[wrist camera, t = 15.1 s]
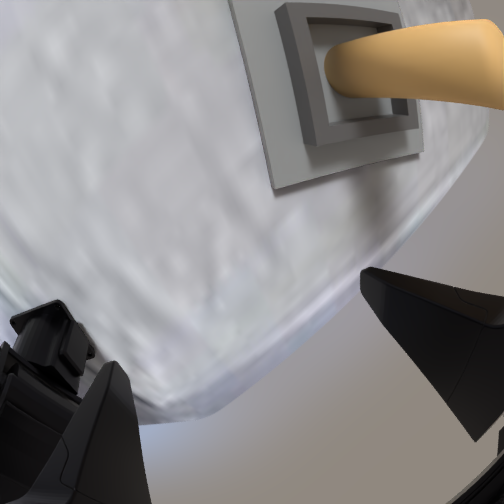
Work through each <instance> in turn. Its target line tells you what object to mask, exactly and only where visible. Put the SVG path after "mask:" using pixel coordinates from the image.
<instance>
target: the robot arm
mask: <svg viewBox="0 0 504 504" xmlns="http://www.w3.org/2000/svg"><path fill="white" fill-rule="evenodd" d="M360 290H361V293H362V295H363V297H364V298H365V300H366V301H367V302H368V304H369V305H370V307H371V308H372V310H373V311H374V313H375V314H376V316H377V317H378V319H379V320H380V322H381V323H382V324H383V326H384V327H385V328H386V329H387V330H388V332H389V333H390V334H391V335H392V336H393V338H394V339H395V340H396V341H397V342H398V344H399V345H400V346H401V347H402V348H403V350H404V351H405V352H406V353H407V354H408V356H409V357H410V358H411V359H412V361H413V362H414V363H415V364H416V365H417V367H418V368H419V369H420V371H421V372H422V373H423V374H424V376H425V377H426V378H427V379H428V381H429V382H430V383H431V384H432V385H433V387H434V388H435V389H436V391H437V392H438V393H439V395H440V396H441V397H442V399H443V400H444V401H445V403H446V404H447V405H448V407H449V408H450V409H451V411H452V412H453V413H454V415H455V416H456V417H457V419H458V420H459V421H460V423H461V424H462V425H463V427H464V428H465V429H466V431H467V432H468V434H469V435H470V436H471V438H472V439H473V440H474V442H477V441H478V440H479V439H480V438H481V437H482V436H483V435H484V433H486V432H487V431H488V430H489V429H490V428H491V427H492V425H493V424H494V423H495V422H496V421H497V420H498V419H499V418H500V417H501V416H502V415H503V416H504V297H502V296H497V295H491V294H485V293H480V292H474V291H469V290H465V289H461V288H457V287H454V288H453V286H449V285H445V284H440V283H437V282H433V281H428V280H424V279H420V278H416V277H412V276H408V275H404V274H399V273H395V272H391V271H387V270H383V269H379V268H374V267H368V268H366V269H363V270H362V271H361V273H360ZM56 305H59V306H60V307H57V306H56ZM15 322H16V323H15ZM10 324H11V326H12V327H13V329H14V330H15V332H16V333H17V334H18V337H17V339H16V342H15V344H14V346H13V349H12V348H11V347H10V345H9V344H8V343H7V342H6V341H4V342H3V343H2V345H1V346H0V504H152V503H151V499H150V494H149V489H148V484H147V479H146V474H145V468H144V462H143V456H142V449H141V442H140V435H139V427H138V419H137V414H136V409H135V405H134V400H133V395H132V390H131V385H130V380H129V378H128V376H127V374H126V373H125V371H124V370H123V369H122V367H121V366H120V365H119V363H118V362H117V361H110V362H107V363H105V364H104V365H103V367H102V369H101V370H100V372H99V373H98V375H97V377H96V378H95V380H94V382H93V383H92V385H91V387H90V388H89V390H88V392H87V393H86V395H85V397H84V398H83V399H81V398H80V397H78V396H76V395H77V394H78V387H79V380H80V376H83V374H84V368H85V362H86V360H88V359H92V358H94V357H95V351H94V349H93V348H92V346H91V345H90V344H89V340H88V339H87V338H86V336H85V335H84V333H83V332H82V330H81V329H80V327H79V326H78V324H77V323H76V321H75V320H73V318H72V317H71V315H70V314H69V312H68V311H67V309H66V307H65V306H64V304H63V303H62V301H60V300H54V301H51V302H48V303H46V304H43V305H41V306H38V307H35V308H33V309H30V310H28V311H25V312H23V313H20V314H17V315H15V316H12V317H11V319H10ZM90 353H91V354H90ZM446 504H504V427H503V428H502V429H501V430H500V431H499V440H498V453H497V457H496V458H495V459H494V460H493V461H492V462H491V463H490V464H489V465H488V466H487V467H486V468H485V469H484V470H483V471H482V472H481V473H480V474H479V476H477V477H476V478H475V479H474V480H473V481H472V482H471V483H470V484H469V485H467V486H466V487H465V488H464V489H463V490H462V491H461V492H460V493H458V494H457V495H456V496H455V497H454V498H452V499H451V500H450V501H449V502H448V503H446Z"/></svg>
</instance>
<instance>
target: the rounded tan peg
mask: <svg viewBox="0 0 504 504" xmlns="http://www.w3.org/2000/svg"><path fill="white" fill-rule="evenodd" d="M324 71H325V75H326V78H327V80H328V82H329V84H330V85H331V86H332V88H333V89H334V90H335V91H336V92H338V93H339V94H341V95H342V96H345V97H348V98H405V99H422V100H435V101H445V102H454V103H462V104H470V105H476V106H483V107H488V108H494V109H499V110H504V36H503V34H502V33H501V31H500V30H499V28H498V27H497V26H496V25H495V24H494V23H493V22H491V21H490V20H487V19H479V20H462V21H450V22H441V23H433V24H426V25H420V26H413V27H408V28H402V29H397V30H392V31H388V32H383V33H379V34H375V35H371V36H367V37H363V38H359V39H355V40H352V41H348V42H345V43H341V44H338V45H335V46H333V47H332V48H331V49H330V50H329V51H328V52H327V54H326V56H325V60H324Z"/></svg>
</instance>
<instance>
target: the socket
mask: <svg viewBox="0 0 504 504" xmlns="http://www.w3.org/2000/svg"><path fill="white" fill-rule="evenodd" d="M228 2H229V6H230V10H231V14H232V17H233V21H234V25H235V29H236V33H237V37H238V41H239V45H240V49H241V53H242V57H243V61H244V65H245V69H246V73H247V77H248V81H249V86H250V90H251V94H252V99H253V103H254V107H255V112H256V116H257V121H258V125H259V130H260V134H261V139H262V143H263V148H264V153H265V157H266V162H267V167H268V171H269V176H270V181H271V186H272V187H273V188H274V189H279V188H282V187H286V186H289V185H293V184H296V183H300V182H303V181H307V180H310V179H314V178H318V177H321V176H325V175H329V174H333V173H336V172H340V171H344V170H348V169H352V168H356V167H360V166H364V165H368V164H372V163H376V162H380V161H384V160H389V159H393V158H397V157H402V156H406V155H411V154H415V153H420V152H424V143H423V129H422V118H421V108H420V100H419V99H405V98H348V97H345V96H342V95H341V94H339V93H338V92H336V91H335V90H334V89H333V88H332V86H331V85H330V84H329V82H328V80H327V78H326V75H325V71H324V60H325V56H326V54H327V52H328V51H329V50H330V49H331V48H332V47H333V46H335V45H338V44H341V43H345V42H348V41H352V40H355V39H359V38H363V37H367V36H371V35H375V34H379V33H383V32H388V31H392V30H397V29H402V28H406V26H405V23H404V19H403V15H402V12H401V8H400V5H399V2H398V0H228Z"/></svg>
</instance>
